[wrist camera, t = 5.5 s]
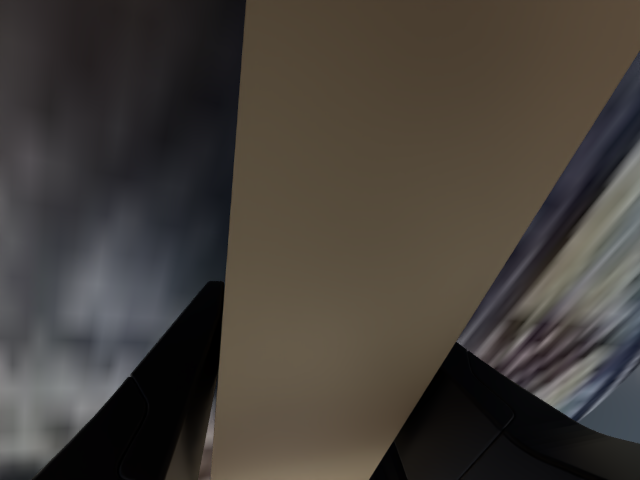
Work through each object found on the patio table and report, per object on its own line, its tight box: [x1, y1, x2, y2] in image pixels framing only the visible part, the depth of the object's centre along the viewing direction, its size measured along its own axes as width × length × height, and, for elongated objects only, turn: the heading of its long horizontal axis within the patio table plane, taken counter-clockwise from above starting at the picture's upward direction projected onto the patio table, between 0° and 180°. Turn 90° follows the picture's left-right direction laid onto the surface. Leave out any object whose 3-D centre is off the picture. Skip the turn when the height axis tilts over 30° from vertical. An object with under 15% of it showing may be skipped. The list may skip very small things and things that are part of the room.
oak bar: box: [210, 0, 640, 480], centre depth 8 cm, size 18×4×5 cm, turn 167°
